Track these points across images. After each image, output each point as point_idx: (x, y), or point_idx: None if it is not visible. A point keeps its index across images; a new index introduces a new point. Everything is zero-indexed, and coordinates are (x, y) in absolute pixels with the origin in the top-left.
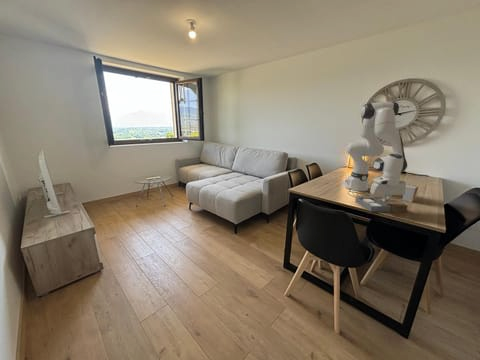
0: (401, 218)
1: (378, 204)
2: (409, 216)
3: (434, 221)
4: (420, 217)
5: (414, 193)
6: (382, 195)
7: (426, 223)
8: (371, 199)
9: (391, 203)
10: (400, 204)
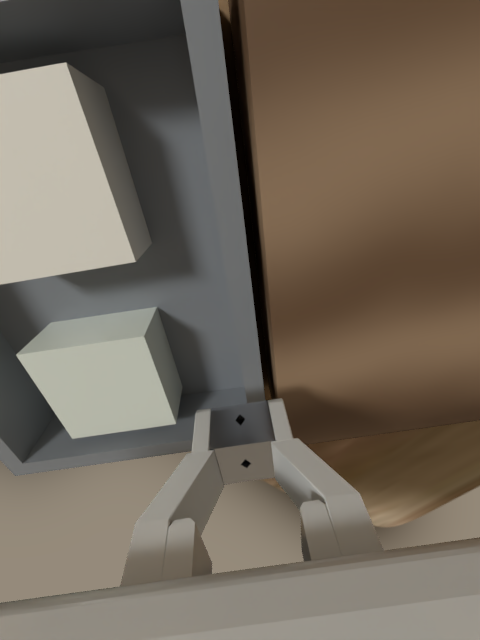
0: (266, 479)
1: (146, 379)
2: (362, 444)
3: (463, 478)
4: (435, 445)
5: None
6: (141, 556)
7: (376, 504)
8: (143, 10)
9: (339, 381)
10: (441, 396)
